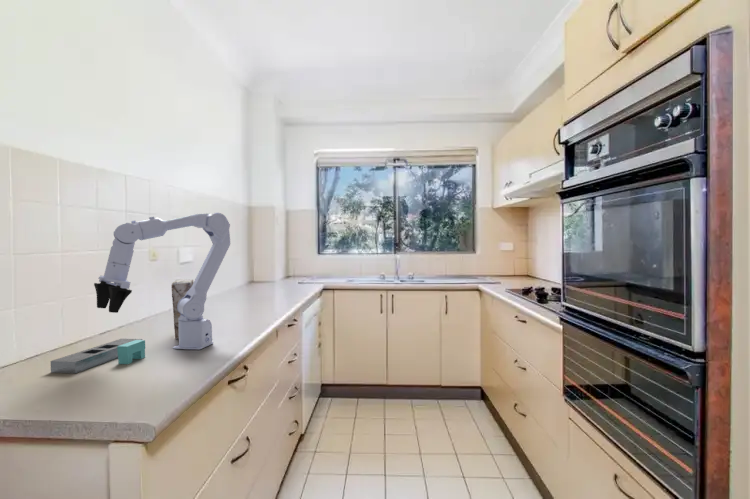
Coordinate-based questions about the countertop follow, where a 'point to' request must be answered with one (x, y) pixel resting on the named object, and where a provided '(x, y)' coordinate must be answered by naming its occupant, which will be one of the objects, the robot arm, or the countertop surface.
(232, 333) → the countertop surface
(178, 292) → the stone block
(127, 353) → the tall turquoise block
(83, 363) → the rail
